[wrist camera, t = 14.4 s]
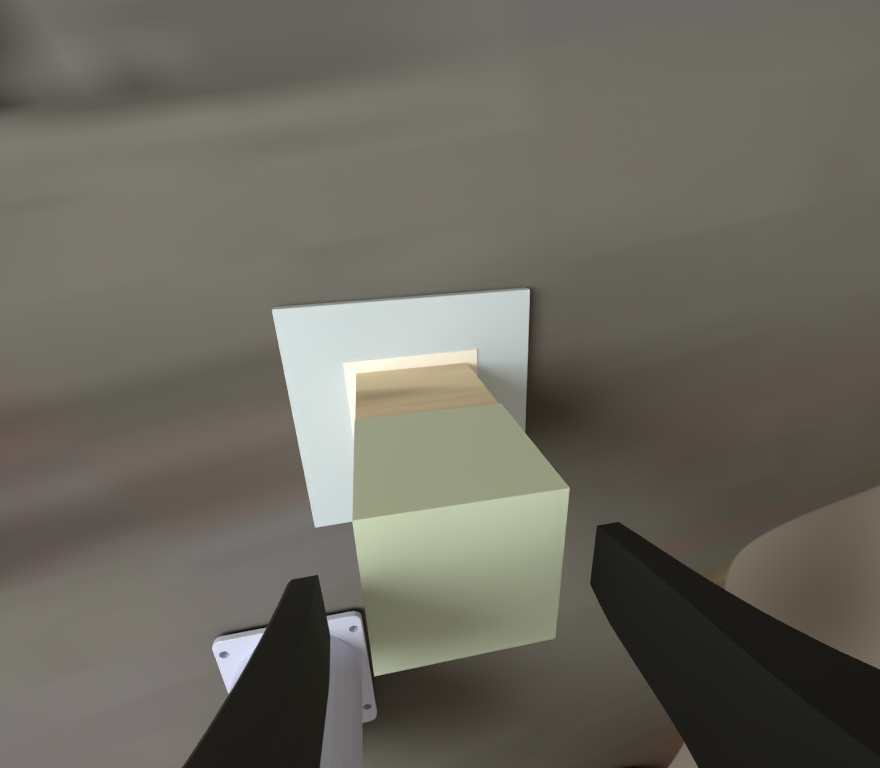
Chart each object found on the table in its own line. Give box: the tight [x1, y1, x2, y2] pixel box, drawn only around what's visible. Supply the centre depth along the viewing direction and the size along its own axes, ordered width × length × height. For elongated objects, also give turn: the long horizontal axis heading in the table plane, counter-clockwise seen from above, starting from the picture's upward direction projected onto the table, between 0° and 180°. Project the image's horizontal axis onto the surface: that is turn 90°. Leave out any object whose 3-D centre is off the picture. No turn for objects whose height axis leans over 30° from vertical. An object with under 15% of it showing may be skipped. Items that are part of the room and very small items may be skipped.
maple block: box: [355, 363, 499, 420], centre depth 17 cm, size 5×5×5 cm
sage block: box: [352, 403, 570, 676], centre depth 12 cm, size 5×5×5 cm
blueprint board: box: [272, 288, 530, 527], centre depth 20 cm, size 11×11×1 cm
